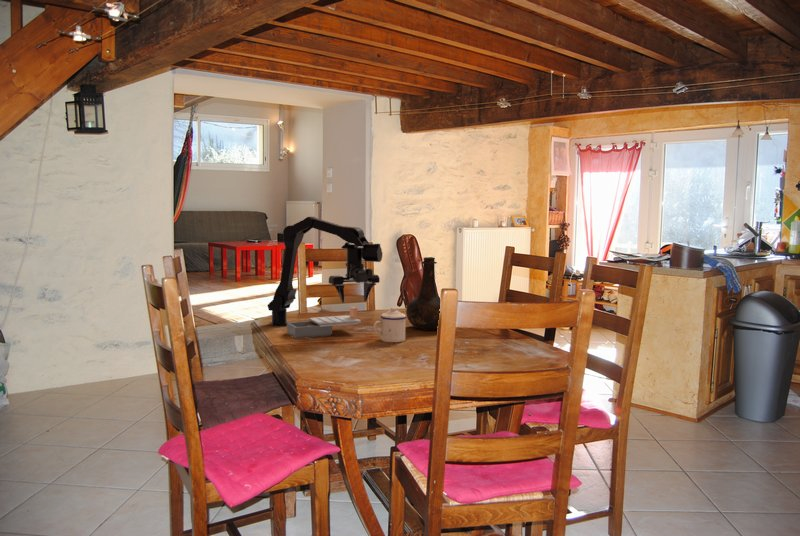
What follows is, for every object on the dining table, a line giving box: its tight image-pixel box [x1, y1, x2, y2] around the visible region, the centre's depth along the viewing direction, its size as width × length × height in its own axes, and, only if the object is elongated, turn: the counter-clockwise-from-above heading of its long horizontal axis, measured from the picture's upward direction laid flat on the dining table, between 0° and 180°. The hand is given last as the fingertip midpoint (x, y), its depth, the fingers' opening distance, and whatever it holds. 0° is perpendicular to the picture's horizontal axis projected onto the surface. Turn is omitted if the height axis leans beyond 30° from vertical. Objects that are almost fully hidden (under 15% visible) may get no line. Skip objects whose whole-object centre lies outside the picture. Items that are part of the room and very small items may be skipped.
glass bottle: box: [405, 256, 441, 331], centre depth 249 cm, size 18×18×28 cm
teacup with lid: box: [373, 307, 407, 343], centre depth 227 cm, size 12×9×12 cm
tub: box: [286, 320, 333, 339], centre depth 234 cm, size 10×14×4 cm
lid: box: [309, 306, 362, 327], centre depth 238 cm, size 12×16×5 cm
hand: (354, 302), depth 241 cm, fingers open, 9 cm apart
